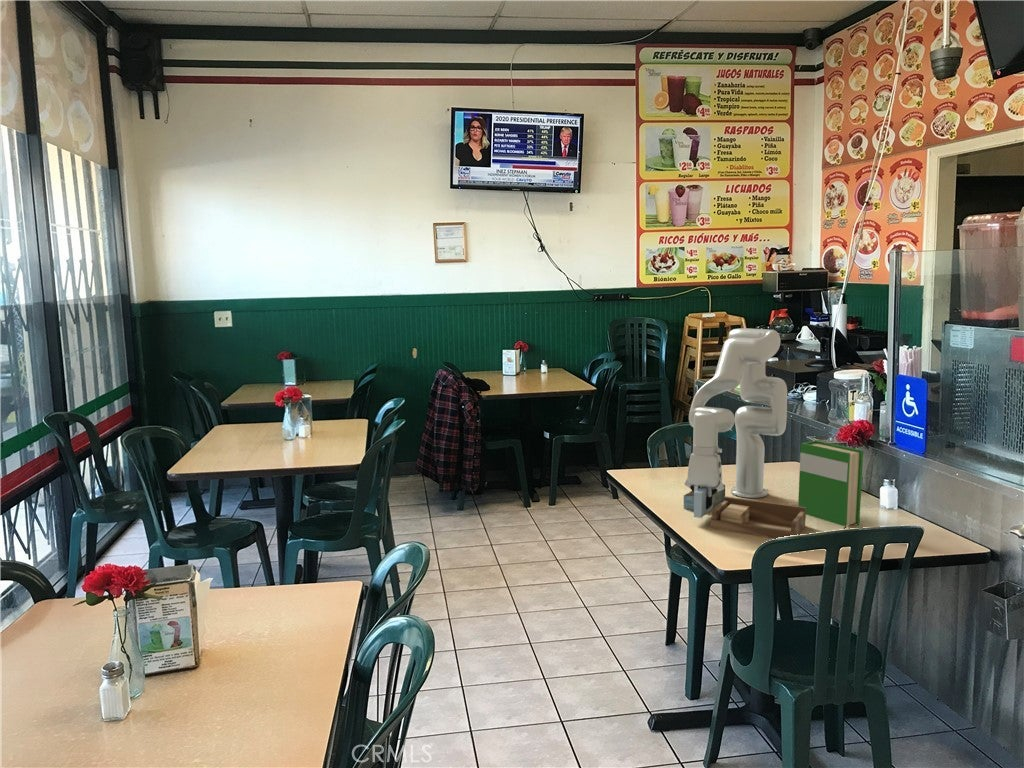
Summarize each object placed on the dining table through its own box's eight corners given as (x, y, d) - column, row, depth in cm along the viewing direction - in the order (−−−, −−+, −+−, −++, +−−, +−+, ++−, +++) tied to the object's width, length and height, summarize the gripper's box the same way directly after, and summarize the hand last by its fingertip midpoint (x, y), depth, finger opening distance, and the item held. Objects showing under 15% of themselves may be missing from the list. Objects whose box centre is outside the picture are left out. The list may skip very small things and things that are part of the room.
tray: (725, 517, 273) (725, 496, 272) (805, 528, 261) (806, 507, 260) (710, 531, 260) (711, 509, 259) (793, 544, 247) (794, 521, 246)
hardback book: (859, 524, 264) (863, 450, 261) (844, 529, 260) (848, 453, 257) (812, 511, 279) (815, 440, 276) (797, 514, 275) (800, 443, 272)
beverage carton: (682, 512, 280) (682, 492, 279) (704, 498, 296) (704, 480, 295) (704, 516, 276) (705, 496, 275) (726, 502, 291) (726, 483, 290)
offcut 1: (730, 508, 270) (730, 503, 269) (749, 510, 267) (749, 506, 266) (720, 517, 260) (720, 512, 260) (739, 520, 257) (740, 515, 257)
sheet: (705, 506, 273) (706, 483, 272) (712, 508, 272) (713, 484, 271) (693, 516, 263) (694, 492, 262) (701, 518, 262) (701, 493, 260)
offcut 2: (730, 512, 270) (730, 508, 270) (749, 515, 267) (749, 510, 267) (720, 522, 260) (720, 517, 260) (739, 525, 257) (739, 520, 257)
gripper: (733, 450, 264) (732, 507, 266) (684, 445, 272) (683, 500, 274) (726, 455, 257) (725, 513, 260) (676, 450, 265) (675, 506, 268)
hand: (703, 506), depth 267 cm, fingers closed on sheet, 2 cm apart
